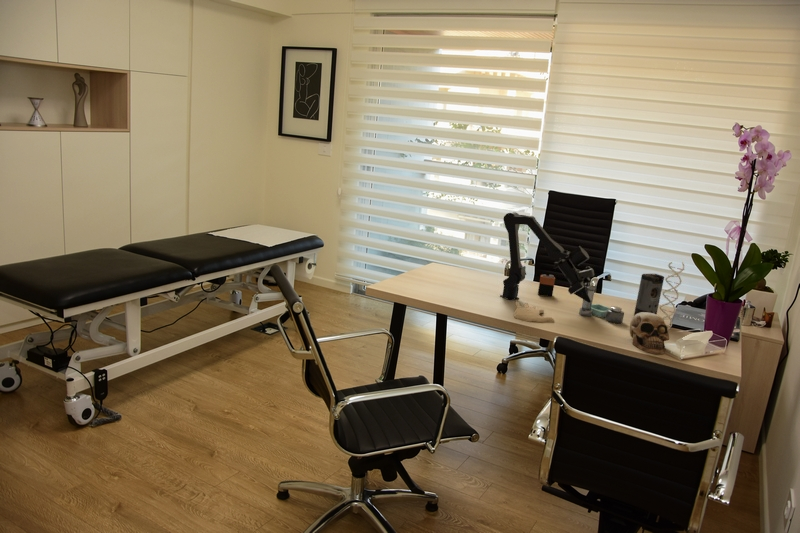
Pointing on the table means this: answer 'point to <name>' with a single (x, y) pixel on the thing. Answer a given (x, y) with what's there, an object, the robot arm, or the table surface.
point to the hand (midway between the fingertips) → (591, 301)
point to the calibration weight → (614, 315)
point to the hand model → (530, 313)
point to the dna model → (671, 289)
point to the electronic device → (649, 293)
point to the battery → (546, 285)
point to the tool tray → (599, 310)
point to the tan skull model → (649, 332)
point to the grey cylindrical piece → (585, 305)
